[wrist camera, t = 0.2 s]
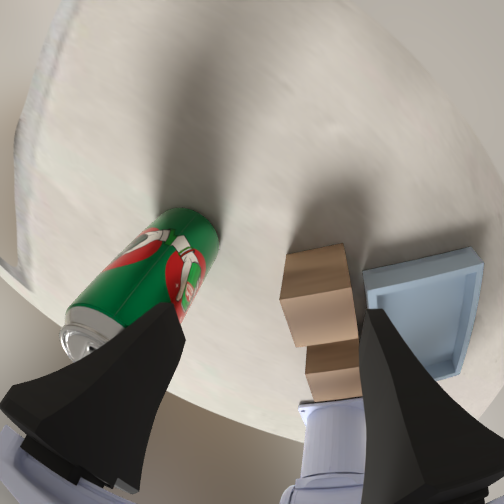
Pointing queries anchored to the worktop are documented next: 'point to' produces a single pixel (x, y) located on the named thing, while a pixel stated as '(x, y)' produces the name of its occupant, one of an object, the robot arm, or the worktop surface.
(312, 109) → the worktop surface
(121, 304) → the soda can
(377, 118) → the worktop surface
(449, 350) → the tray
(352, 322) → the walnut block
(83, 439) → the robot arm
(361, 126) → the worktop surface
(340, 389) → the walnut block
